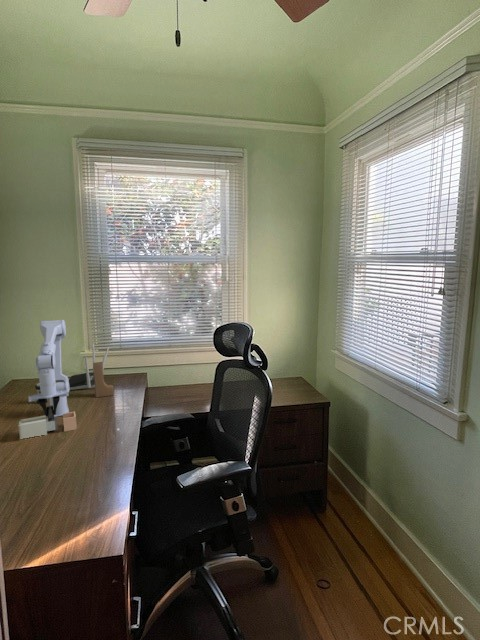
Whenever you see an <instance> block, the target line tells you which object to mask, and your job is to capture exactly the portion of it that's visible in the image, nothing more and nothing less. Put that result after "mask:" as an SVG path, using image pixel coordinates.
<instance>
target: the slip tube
mask: <svg viewBox="0 0 480 640" xmlns="http://www.w3.org/2000/svg"><path fill="white" fill-rule="evenodd" d="M46 408H47V415H48V416H47V417H46V429H47V432H50V431H51V432H52V431H57V430H58V421H57V417H58V416H57V417H54V409H53V406H52V405H51V406H50V405H46ZM36 421H37V420H36ZM30 422H31V421H30ZM25 423H26V422H25Z"/></svg>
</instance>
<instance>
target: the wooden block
mask: <svg viewBox="0 0 480 640" xmlns="http://www.w3.org/2000/svg"><path fill="white" fill-rule="evenodd" d="M93 369H94V383H95V386H94V397H95V398H103V397H110V396H114V385H113V384H107V383H106V381H105V378H104V370H103V363H102V361H99V362H98V361H95V363H93V362H92V370H93Z"/></svg>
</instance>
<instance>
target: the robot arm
mask: <svg viewBox="0 0 480 640" xmlns="http://www.w3.org/2000/svg"><path fill="white" fill-rule="evenodd" d="M39 324H40V325H39V326H40V327H39V329H40V332H41V334H42V337H43V338H44V342H42V343H41V345H40V348H39V354H38V356H37V357H35V367H36V371H37V374H38V379H39V383H40V390H39V391H41V393H39V394H38V393H37V394H33V395H29V396H28V397H27V398H28V402H29V403H31V402H36V401H35V400H39V403H38V404H39V406H40V407H41V408H42V410H43V413H44V416H46V417H48V415H47V403H46V399H48V401H49V406H51V405H52V406H53V409H54V417H63V414H64V413H69V412H70V410H69V406H68V397H69V396H70V395H69V393H70V390H69V379H70V378H69V377H68V376H67V375H65V374H63V367H62V366H63V365H62V340H63V339H65V338H66V336H67V332H66V329H67V327H66V326H67V325H66V321H65V320H64V319H58V320H57V319H55V320H41V321H40V323H39Z"/></svg>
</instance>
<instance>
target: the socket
mask: <svg viewBox="0 0 480 640" xmlns="http://www.w3.org/2000/svg"><path fill="white" fill-rule="evenodd" d="M62 419H63V432H69V431H75V430H77V429H78V428H77V427H78V425H77V415H76V411H71V412H70V411H69V413H64V414H63V415H62Z"/></svg>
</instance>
